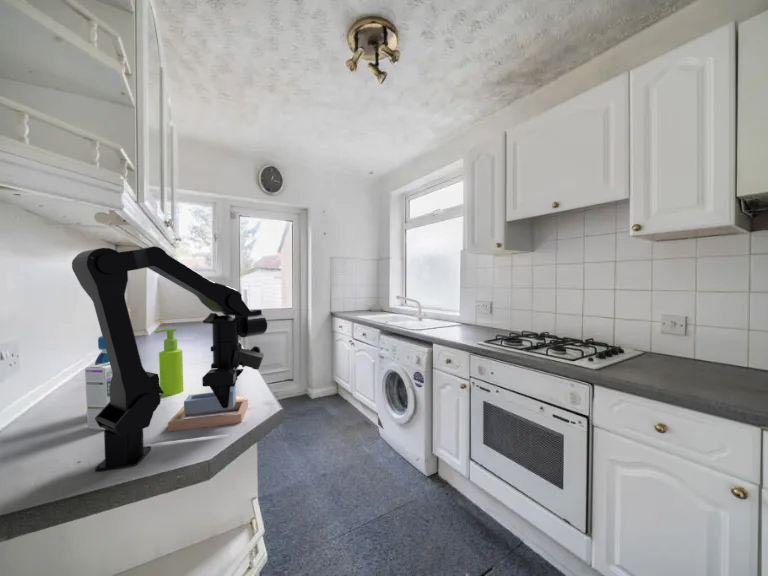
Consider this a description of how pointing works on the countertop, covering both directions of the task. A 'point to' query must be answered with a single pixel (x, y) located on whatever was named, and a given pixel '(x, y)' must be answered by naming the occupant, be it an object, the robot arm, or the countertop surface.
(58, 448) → the countertop surface
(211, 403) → the blue open frame block
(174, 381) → the soap dispenser
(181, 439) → the countertop surface
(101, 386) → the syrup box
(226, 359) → the robot arm
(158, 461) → the countertop surface
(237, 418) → the tray
